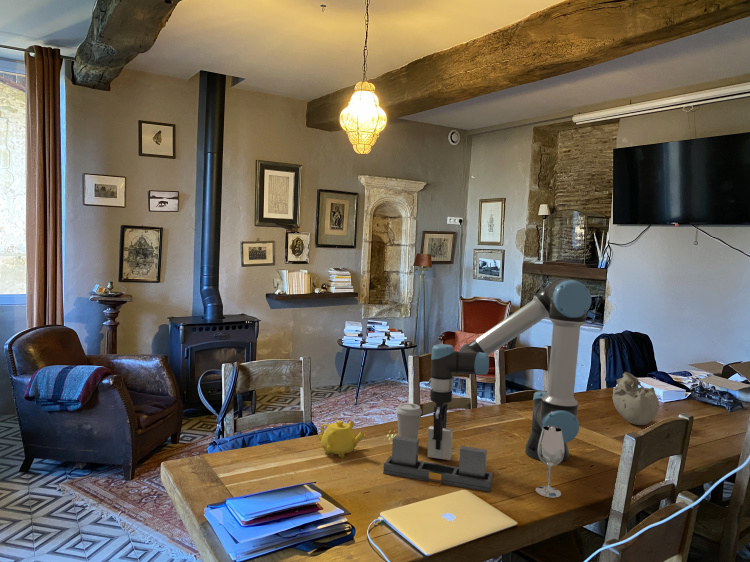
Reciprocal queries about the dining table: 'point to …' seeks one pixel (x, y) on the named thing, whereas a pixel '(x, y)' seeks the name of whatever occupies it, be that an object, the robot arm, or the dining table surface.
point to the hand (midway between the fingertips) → (439, 455)
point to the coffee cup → (408, 420)
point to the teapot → (339, 438)
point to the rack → (439, 466)
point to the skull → (635, 400)
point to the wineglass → (550, 456)
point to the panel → (447, 443)
